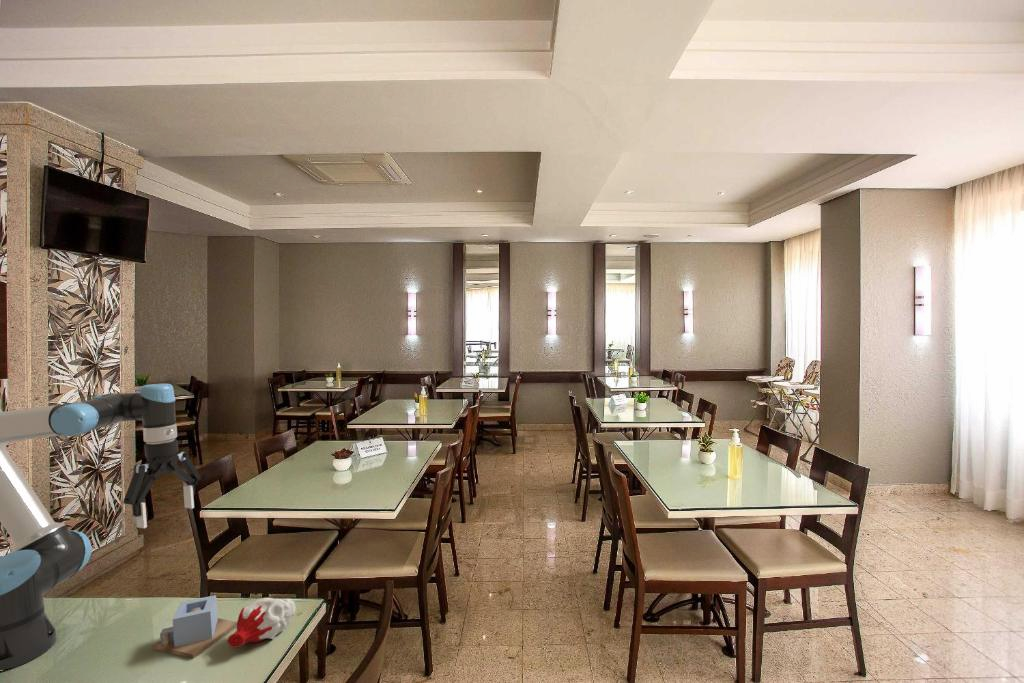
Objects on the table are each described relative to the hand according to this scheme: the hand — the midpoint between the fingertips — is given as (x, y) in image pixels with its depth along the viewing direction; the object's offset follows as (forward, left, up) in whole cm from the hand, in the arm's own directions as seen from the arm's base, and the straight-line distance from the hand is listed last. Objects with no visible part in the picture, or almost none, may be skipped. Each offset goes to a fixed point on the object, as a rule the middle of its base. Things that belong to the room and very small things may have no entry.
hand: (166, 517), depth 139 cm
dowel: (+14, -13, -27) cm, 33 cm away
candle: (+33, -3, -27) cm, 43 cm away
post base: (+17, -7, -27) cm, 32 cm away
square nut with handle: (+16, -8, -26) cm, 31 cm away
